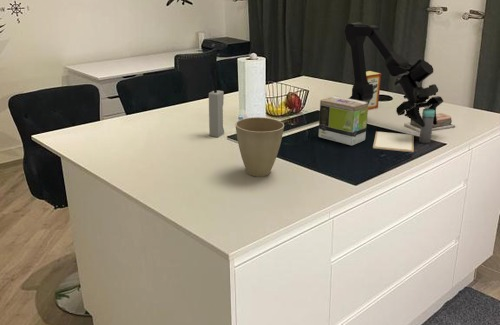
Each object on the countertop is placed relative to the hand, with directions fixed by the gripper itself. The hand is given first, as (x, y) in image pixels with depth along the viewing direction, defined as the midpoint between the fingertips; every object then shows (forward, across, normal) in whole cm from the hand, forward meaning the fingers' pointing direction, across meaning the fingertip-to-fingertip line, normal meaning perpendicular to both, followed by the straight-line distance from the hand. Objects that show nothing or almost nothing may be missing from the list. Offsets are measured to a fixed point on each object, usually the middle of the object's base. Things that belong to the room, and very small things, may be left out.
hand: (429, 125), depth 192 cm
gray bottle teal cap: (+4, 0, +6) cm, 7 cm away
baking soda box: (-29, +11, +39) cm, 50 cm away
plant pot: (+2, -69, +8) cm, 70 cm away
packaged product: (-5, +15, +15) cm, 22 cm away
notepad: (0, -11, +9) cm, 14 cm away
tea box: (-8, -26, +18) cm, 32 cm away
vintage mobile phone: (-26, -65, +36) cm, 79 cm away
